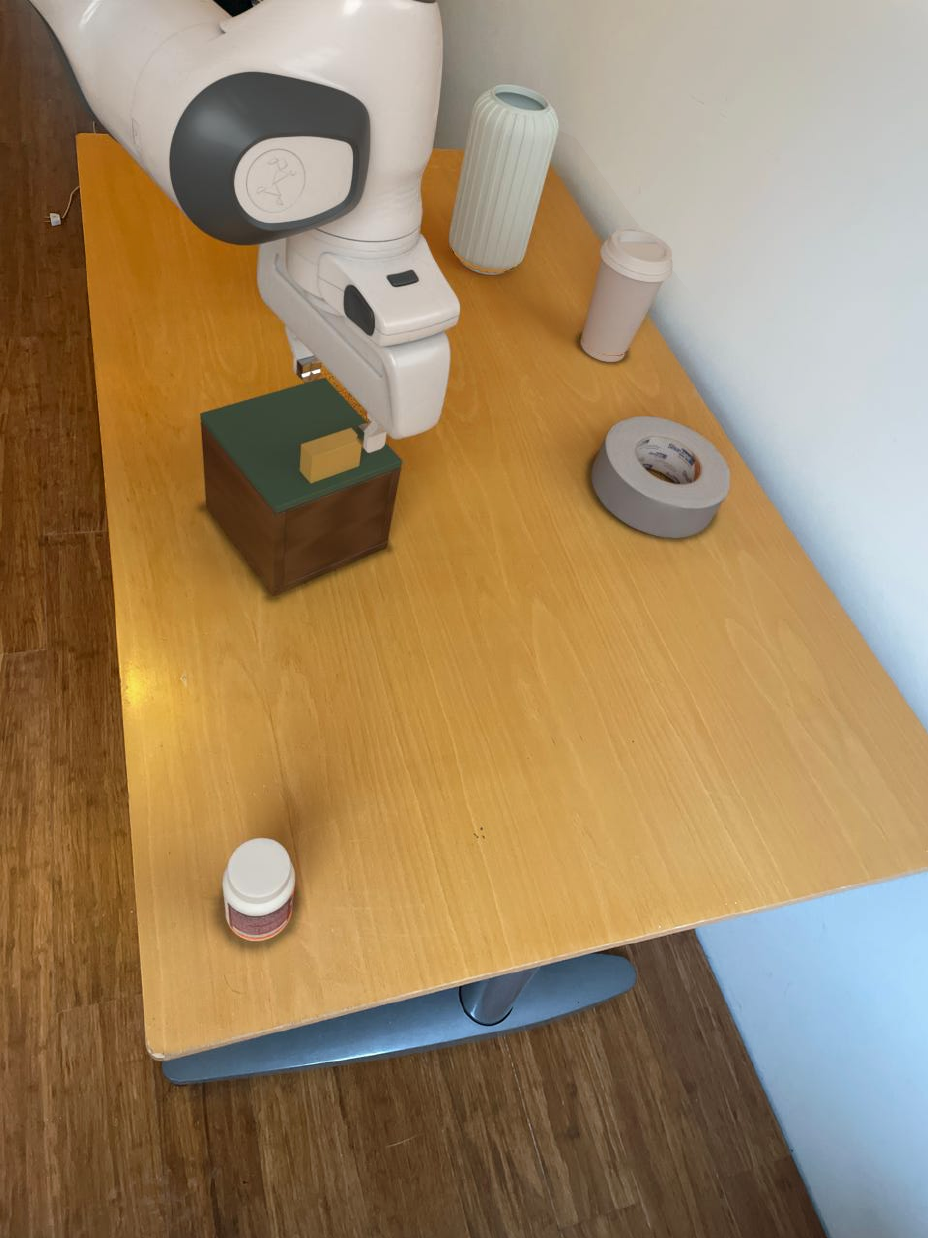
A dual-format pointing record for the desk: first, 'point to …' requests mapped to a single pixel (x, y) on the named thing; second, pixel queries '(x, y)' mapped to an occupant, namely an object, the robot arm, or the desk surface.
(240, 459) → the lid
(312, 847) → the desk surface
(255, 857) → the pill bottle
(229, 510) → the box
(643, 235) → the coffee cup
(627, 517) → the tape roll
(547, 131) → the vase
